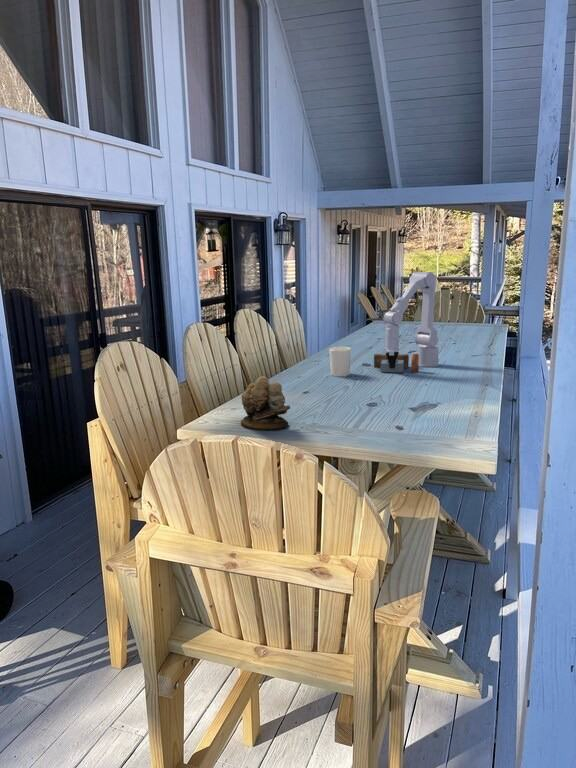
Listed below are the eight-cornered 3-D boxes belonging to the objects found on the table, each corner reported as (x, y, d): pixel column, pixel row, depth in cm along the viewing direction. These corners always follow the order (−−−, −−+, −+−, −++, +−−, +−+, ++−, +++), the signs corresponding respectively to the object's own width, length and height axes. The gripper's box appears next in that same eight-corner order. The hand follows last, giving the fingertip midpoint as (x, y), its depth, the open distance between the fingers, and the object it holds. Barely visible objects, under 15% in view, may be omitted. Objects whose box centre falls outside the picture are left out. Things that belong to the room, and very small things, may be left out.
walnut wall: (408, 366, 259) (408, 354, 258) (408, 368, 256) (408, 355, 255) (374, 366, 263) (374, 354, 261) (373, 367, 260) (373, 355, 258)
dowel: (418, 370, 250) (418, 353, 248) (418, 372, 247) (418, 355, 245) (411, 370, 250) (411, 353, 248) (411, 372, 247) (411, 355, 245)
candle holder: (343, 378, 242) (343, 351, 239) (325, 375, 248) (324, 349, 245) (355, 373, 249) (354, 347, 246) (336, 371, 255) (336, 346, 252)
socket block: (403, 368, 257) (403, 359, 256) (403, 372, 247) (403, 363, 246) (382, 367, 259) (382, 359, 258) (380, 372, 249) (380, 363, 249)
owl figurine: (297, 422, 184) (295, 373, 179) (282, 434, 173) (280, 382, 169) (250, 417, 191) (248, 369, 187) (233, 427, 181) (230, 377, 177)
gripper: (384, 335, 251) (384, 364, 255) (382, 341, 238) (382, 371, 241) (399, 335, 250) (399, 364, 253) (398, 341, 236) (398, 371, 239)
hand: (392, 368), depth 247 cm, fingers closed
